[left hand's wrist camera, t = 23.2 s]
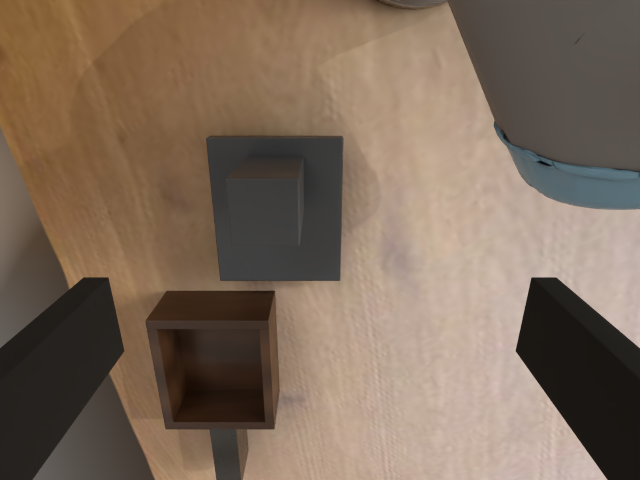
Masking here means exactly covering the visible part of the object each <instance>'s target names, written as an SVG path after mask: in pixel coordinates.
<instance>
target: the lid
mask: <svg viewBox="0 0 640 480" xmlns="http://www.w3.org/2000/svg"><path fill="white" fill-rule="evenodd" d="M206 142H207V152H208V162H209V172H210V182H211V191H212V201H213V211H214V221H215V231H216V241H217V251H218V261H219V271H220V280H221V281H340V264H341V218H342V171H343V137H342V136H209V137H208V138H206Z"/></svg>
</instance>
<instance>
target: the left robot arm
mask: <svg viewBox="0 0 640 480" xmlns="http://www.w3.org/2000/svg"><path fill="white" fill-rule="evenodd" d="M378 1H380V2H382V3H385V4H387V5H390V6H394V7H397V8H403V9H424V8H430V7H434V6H438V5H441V4H444V3H446V2H448V3H449V6H450V8H451V11H452V13H453V16H454V18H455V21H456V23H457V26H458V28H459V31H460V33H461V36H462V38H463V41H464V44H465V46H466V49H467V51H468V54H469V56H470V59H471V61H472V64H473V66H474V69H475V71H476V74H477V76H478V79H479V81H480V84H481V87H482V89H483V92H484V94H485V97H486V99H487V102H488V104H489V107H490V109H491V112H492V114H493V117H494V119H495V122H494V128H495V130H496V133H497V135H498V137H499V138H500V140H501V141H502V142H503V143H504V144H505V145H506V146H507V148H508V150H509V152H510V154H511V156H512V158H513V161H514V163H515V165H516V167H517V169H518V172H519V173H520V175H521V177H522V178H523V179H524V180H525V181H526V183H527V184H528V185H530V186H531V187H534V188H535V189H537V190H538V191H539V192H540V193H542V194H543V195H544V196H546V197H548V198H551V199H553V200H556V201H559V202H562V203H566V204H569V205H574V206H580V207H586V208H594V209H611V210H628V209H640V0H378ZM123 352H124V347H123V343H122V338H121V334H120V329H119V324H118V320H117V315H116V310H115V306H114V301H113V297H112V292H111V287H110V283H109V278H83V279H81V280H80V281H79V282H78V283H77V284H76V285H74V286H73V287H72V288H71V289H70V290H68V291H67V292H66V293H65V294H64V295H63V296H61V297H60V298H59V299H58V300H57V301H56V302H54V303H53V304H52V305H51V306H50V307H48V308H47V309H46V310H45V311H44V312H43V313H41V314H40V315H39V316H38V317H37V318H35V319H34V320H33V321H32V322H31V323H30V324H28V325H27V326H26V327H25V328H24V329H22V330H21V331H20V332H19V333H18V334H17V335H15V336H14V337H13V338H12V339H11V340H10V341H8V342H7V343H6V344H5V345H4V346H2V347H1V348H0V480H33V478H34V477H35V475H36V474H37V473H38V471H39V470H40V468H41V467H42V466H43V464H44V463H45V461H46V460H47V459H48V457H49V456H50V454H51V453H52V452H53V450H54V449H55V447H56V446H57V444H58V443H59V442H60V440H61V439H62V438H63V436H64V435H65V433H66V432H67V431H68V429H69V428H70V426H71V425H72V423H73V422H74V421H75V419H76V418H77V417H78V415H79V414H80V412H81V411H82V409H83V408H84V407H85V405H86V404H87V402H88V401H89V400H90V398H91V397H92V396H93V394H94V393H95V391H96V390H97V389H98V387H99V386H100V384H101V383H102V382H103V380H104V379H105V377H106V376H107V375H108V373H109V372H110V370H111V369H112V368H113V366H114V365H115V363H116V362H117V361H118V359H119V358H120V356H121V355H122V354H123ZM516 352H517V354H518V355H519V356H520V358H521V359H522V361H523V362H524V363H525V365H526V366H527V368H528V369H529V370H530V372H531V373H532V375H533V376H534V377H535V379H536V380H537V382H538V383H539V384H540V386H541V387H542V389H543V390H544V391H545V393H546V394H547V396H548V397H549V398H550V400H551V401H552V403H553V404H554V405H555V407H556V408H557V410H558V411H559V412H560V414H561V415H562V417H563V418H564V419H565V421H566V422H567V424H568V425H569V426H570V428H571V429H572V431H573V432H574V433H575V435H576V436H577V438H578V439H579V440H580V442H581V443H582V445H583V446H584V447H585V449H586V450H587V452H588V453H589V454H590V456H591V457H592V459H593V460H594V461H595V463H596V464H597V466H598V467H599V468H600V470H601V471H602V473H603V474H604V475H605V477H606V478H607V480H640V348H639V347H638V346H636V345H635V344H634V343H633V342H632V341H631V340H629V339H628V338H627V337H626V336H625V335H623V334H622V333H621V332H620V331H619V330H618V329H616V328H615V327H614V326H613V325H612V324H610V323H609V322H608V321H607V320H606V319H605V318H603V317H602V316H601V315H600V314H599V313H597V312H596V311H595V310H594V309H593V308H592V307H590V306H589V305H588V304H587V303H586V302H585V301H583V300H582V299H581V298H580V297H579V296H577V295H576V294H575V293H574V292H573V291H572V290H570V289H569V288H568V287H567V286H566V285H564V284H563V283H562V282H561V281H560V280H559V279H557V278H531V283H530V287H529V292H528V297H527V301H526V306H525V310H524V315H523V320H522V324H521V329H520V334H519V338H518V343H517V347H516Z"/></svg>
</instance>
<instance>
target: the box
mask: <svg viewBox="0 0 640 480" xmlns="http://www.w3.org/2000/svg"><path fill="white" fill-rule="evenodd" d="M146 326H147V332H148V337H149V343H150V348H151V353H152V359H153V364H154V369H155V375H156V380H157V385H158V391H159V396H160V402H161V407H162V412H163V418H164V422H165V428H166V429H210V435H211V442H212V450H213V457H214V465H215V472H216V480H243V476H244V470H245V465H246V460H247V455H248V440H247V429H275V421H276V414H277V406H278V398H279V391H280V390H279V369H278V348H277V326H276V305H275V291H167V292H166V293H165V294H164V296H163V297H162V299H161V300H160V301H159V303H158V304H157V306H156V307H155V308H154V310H153V311H152V313H151V314H150V315H149V317H148V318H147V320H146Z"/></svg>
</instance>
